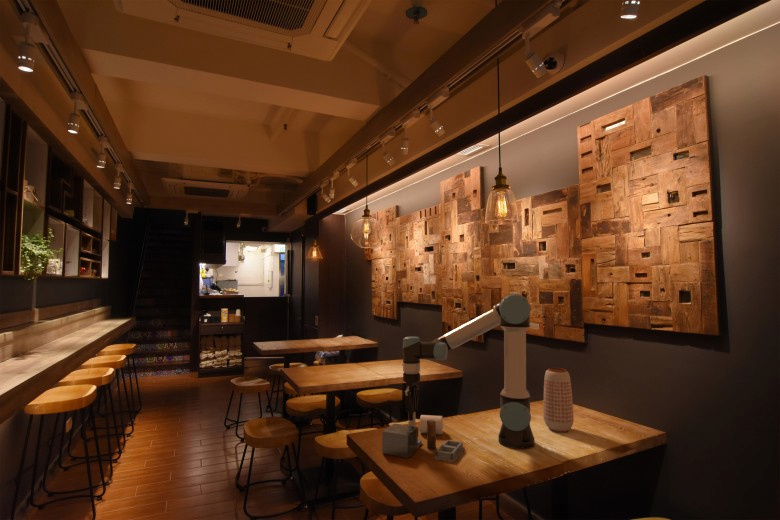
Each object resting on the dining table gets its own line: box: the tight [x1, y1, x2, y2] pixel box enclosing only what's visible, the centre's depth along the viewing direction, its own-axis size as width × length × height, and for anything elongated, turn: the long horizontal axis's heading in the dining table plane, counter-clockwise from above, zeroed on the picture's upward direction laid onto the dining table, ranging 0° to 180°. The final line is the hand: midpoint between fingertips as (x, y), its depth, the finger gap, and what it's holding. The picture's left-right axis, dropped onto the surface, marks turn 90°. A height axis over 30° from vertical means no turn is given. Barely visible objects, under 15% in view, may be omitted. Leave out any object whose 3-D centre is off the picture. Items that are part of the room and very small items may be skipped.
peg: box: [426, 420, 437, 451], centre depth 178 cm, size 4×4×11 cm
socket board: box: [433, 439, 465, 464], centre depth 171 cm, size 8×15×3 cm, turn 154°
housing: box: [381, 422, 419, 459], centre depth 174 cm, size 11×11×9 cm
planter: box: [543, 367, 575, 433], centre depth 202 cm, size 13×13×28 cm
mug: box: [419, 414, 444, 436], centre depth 198 cm, size 12×10×8 cm
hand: (412, 427), depth 184 cm, fingers closed
